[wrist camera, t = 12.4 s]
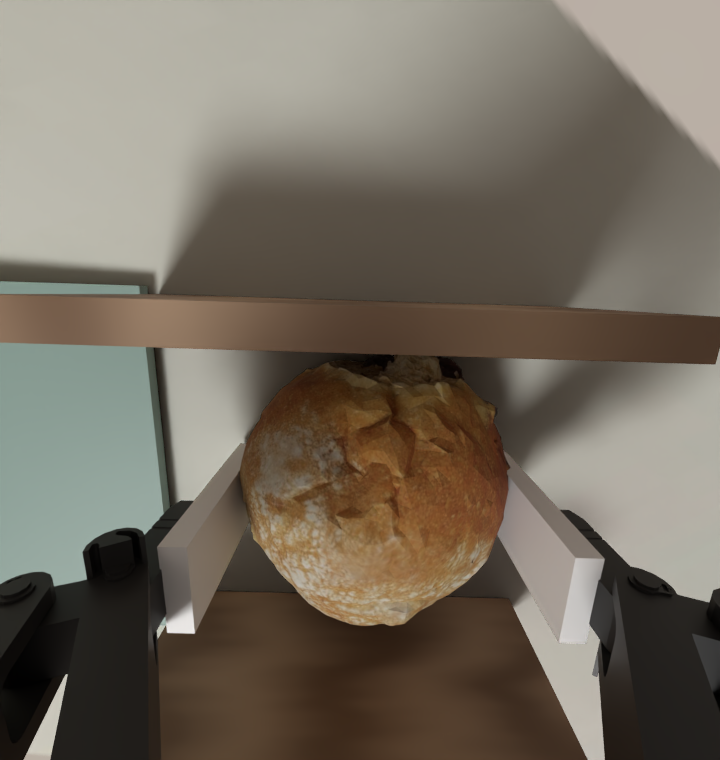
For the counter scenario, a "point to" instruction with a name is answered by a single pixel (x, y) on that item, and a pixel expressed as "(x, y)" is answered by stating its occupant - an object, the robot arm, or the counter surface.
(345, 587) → the bread roll
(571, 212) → the counter surface
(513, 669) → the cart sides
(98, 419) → the panel
